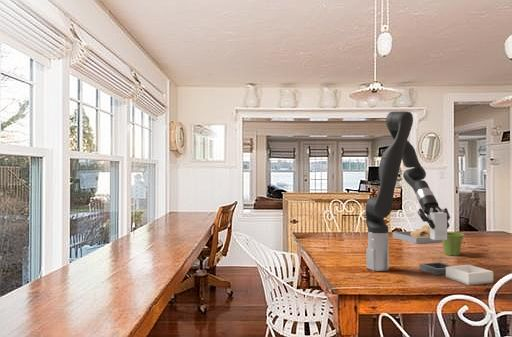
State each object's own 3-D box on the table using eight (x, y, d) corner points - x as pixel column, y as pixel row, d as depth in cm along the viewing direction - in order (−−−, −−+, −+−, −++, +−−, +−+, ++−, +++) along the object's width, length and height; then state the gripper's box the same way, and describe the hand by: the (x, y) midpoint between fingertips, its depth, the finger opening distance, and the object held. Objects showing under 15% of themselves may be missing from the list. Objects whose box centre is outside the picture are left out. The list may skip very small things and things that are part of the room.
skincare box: (442, 238, 186) (442, 212, 186) (447, 240, 181) (447, 213, 181) (429, 238, 185) (429, 212, 185) (434, 240, 181) (434, 213, 181)
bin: (468, 285, 161) (468, 273, 161) (445, 277, 173) (445, 266, 173) (493, 282, 165) (493, 271, 165) (469, 274, 177) (469, 264, 177)
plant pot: (444, 251, 227) (444, 231, 227) (467, 254, 218) (467, 233, 218) (436, 254, 219) (436, 233, 219) (459, 258, 210) (459, 236, 210)
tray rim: (416, 243, 251) (416, 238, 251) (392, 237, 274) (392, 232, 274) (448, 241, 258) (448, 235, 258) (423, 235, 281) (423, 230, 281)
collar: (436, 275, 177) (436, 269, 177) (419, 269, 187) (419, 263, 187) (456, 273, 180) (456, 267, 180) (439, 267, 190) (439, 262, 191)
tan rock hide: (428, 253, 254) (428, 243, 251) (407, 244, 265) (407, 234, 261) (442, 239, 264) (443, 230, 261) (421, 231, 274) (422, 222, 271)
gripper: (415, 194, 190) (428, 223, 178) (444, 194, 191) (459, 222, 180) (409, 204, 195) (422, 233, 183) (437, 204, 197) (452, 232, 185)
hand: (440, 227), depth 182 cm, fingers closed on skincare box, 6 cm apart
